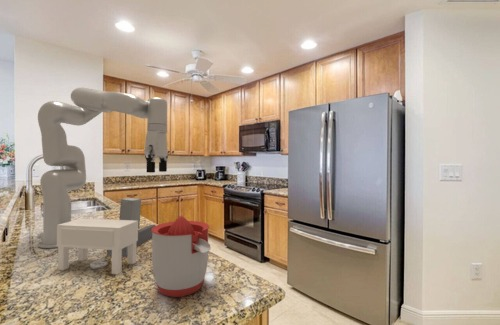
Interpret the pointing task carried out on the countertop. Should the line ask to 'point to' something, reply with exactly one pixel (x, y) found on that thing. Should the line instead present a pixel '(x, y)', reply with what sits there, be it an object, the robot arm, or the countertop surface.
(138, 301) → the countertop surface
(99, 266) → the disc
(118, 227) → the white footstool
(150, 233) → the dark grey bar
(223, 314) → the countertop surface
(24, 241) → the countertop surface
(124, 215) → the skincare box
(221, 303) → the countertop surface
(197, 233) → the citrus juicer
